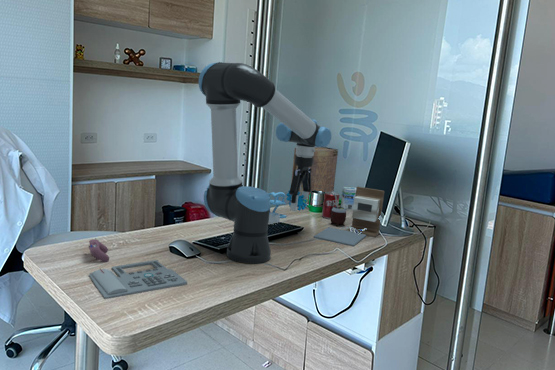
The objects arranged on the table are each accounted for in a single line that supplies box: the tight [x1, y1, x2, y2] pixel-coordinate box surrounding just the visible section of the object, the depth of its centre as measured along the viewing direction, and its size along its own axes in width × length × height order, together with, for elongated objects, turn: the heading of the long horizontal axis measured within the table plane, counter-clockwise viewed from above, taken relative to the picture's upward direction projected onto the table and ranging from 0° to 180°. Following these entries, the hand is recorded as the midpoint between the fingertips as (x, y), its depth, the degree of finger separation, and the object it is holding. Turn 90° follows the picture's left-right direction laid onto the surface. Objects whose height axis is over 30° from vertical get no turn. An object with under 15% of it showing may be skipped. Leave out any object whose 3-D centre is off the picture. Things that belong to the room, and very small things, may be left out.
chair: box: [267, 191, 287, 219], centre depth 221 cm, size 8×8×12 cm
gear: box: [285, 189, 308, 212], centre depth 200 cm, size 11×6×10 cm
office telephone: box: [89, 259, 188, 300], centre depth 137 cm, size 23×3×20 cm
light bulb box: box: [340, 186, 356, 210], centre depth 252 cm, size 11×7×11 cm, turn 95°
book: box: [288, 146, 339, 209], centre depth 252 cm, size 25×9×30 cm, turn 136°
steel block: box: [268, 211, 281, 225], centre depth 210 cm, size 5×5×4 cm
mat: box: [313, 226, 367, 247], centre depth 197 cm, size 18×17×1 cm
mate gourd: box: [330, 191, 347, 228], centre depth 215 cm, size 8×8×15 cm
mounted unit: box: [347, 186, 385, 238], centre depth 205 cm, size 8×12×19 cm, turn 64°
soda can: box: [321, 191, 340, 220], centre depth 227 cm, size 7×7×12 cm
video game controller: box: [88, 238, 110, 263], centre depth 150 cm, size 10×5×7 cm, turn 22°
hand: (298, 208), depth 199 cm, fingers closed on gear, 10 cm apart
